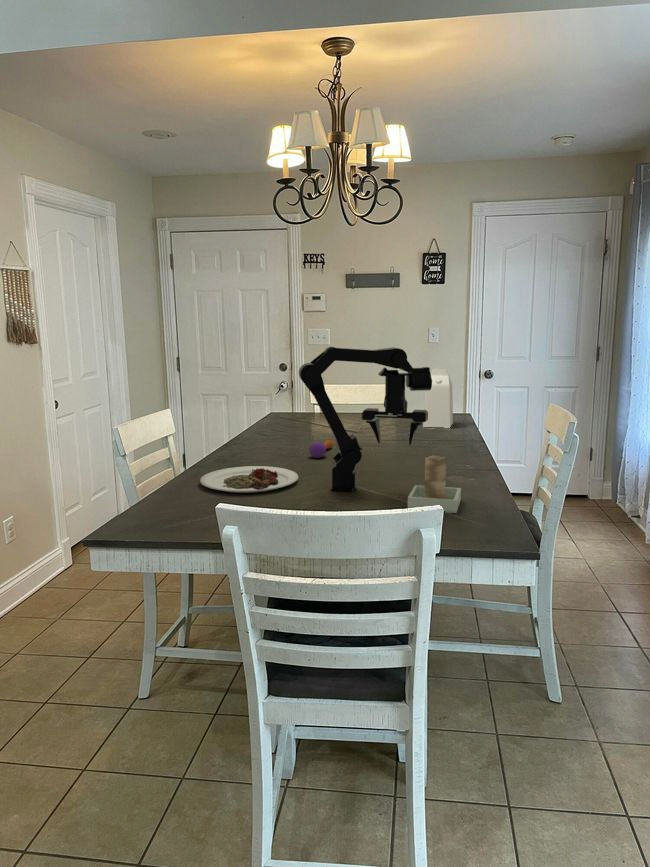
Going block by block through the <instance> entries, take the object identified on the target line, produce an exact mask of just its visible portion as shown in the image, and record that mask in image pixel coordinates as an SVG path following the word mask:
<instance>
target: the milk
mask: <svg viewBox="0 0 650 867" xmlns="http://www.w3.org/2000/svg"><path fill="white" fill-rule="evenodd" d="M430 373H431V379H432V387H431V390H424V391H425V392H424V405H423V406H424V407H423V410H427V412H428V420H427V421H426V422H423V423H422V428H423V427H444V428H450V427H451V425H452V424H453V425H454V418H453V417H454V414H453V413H454V411H453V410H454V409H453V405H454V404H453V399H454V398H453V383H452V380H451V378H450V375H449V373H448V370H447V369H446V368H432V370H431V371H430ZM451 428H452V427H451ZM451 428H450V429H451Z"/></svg>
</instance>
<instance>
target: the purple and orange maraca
mask: <svg viewBox="0 0 650 867" xmlns="http://www.w3.org/2000/svg"><path fill="white" fill-rule="evenodd" d="M333 446H334V443H333V441H332V440H330V439H327V440H326V441H324V443H323V442H321V441H314V442H312V443H311V444H310V445H309V449H308V450H309V454H310V456H311V457H312V458H314V459H321V458H323V457H324V456H325V455H326V452H327V450H329V449H332V448H333Z"/></svg>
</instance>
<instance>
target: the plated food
mask: <svg viewBox="0 0 650 867" xmlns="http://www.w3.org/2000/svg"><path fill="white" fill-rule="evenodd" d="M298 479H299V475H298V473H297V472H296V471H293V470H290V469H287V468H283V467H277V466H276V467H275V466H267V465H266V466H264V465H263V466H262V465H258V466H256V465H252V466H251V465H249V466H237V467H235V466H234V467H228V468H222V469H218V470H214V471H211V472H208V473H206V474H204V475H203V476H201V477H200V481H199V482H200V484H201V485H202V486H203V487H206V488H209V489H212V490H217V491H222V492H229V493H236V494H237V493H241V494H242V493H243V494H245V493H247V494H249V493H260V492H261V493H263V492H268V491H273V490H277V489H279V488H280V489H281V488H284V487H287V486H290V485H293V484H294V483H296V482H297V481H298Z"/></svg>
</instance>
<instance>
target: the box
mask: <svg viewBox="0 0 650 867" xmlns="http://www.w3.org/2000/svg"><path fill="white" fill-rule="evenodd" d="M461 494H462V488H461V487H450V486H449V487H448V486H445V497H450V498H453V500H452V499H437V498H423V497H424V496H425V485H420V484H419V485H417V484H415V485H414V487H413V488H412V489H411V491H410V493H409V494H408V496H407V509H408V508H412V507H423V506H433V505H440V506H442V507H443V508H444V511H445V513H444V514H452V513H456V514H457V512H458V509H459V507H460V503H461V500H462V499H461V498H462V497H461V496H462V495H461Z"/></svg>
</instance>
